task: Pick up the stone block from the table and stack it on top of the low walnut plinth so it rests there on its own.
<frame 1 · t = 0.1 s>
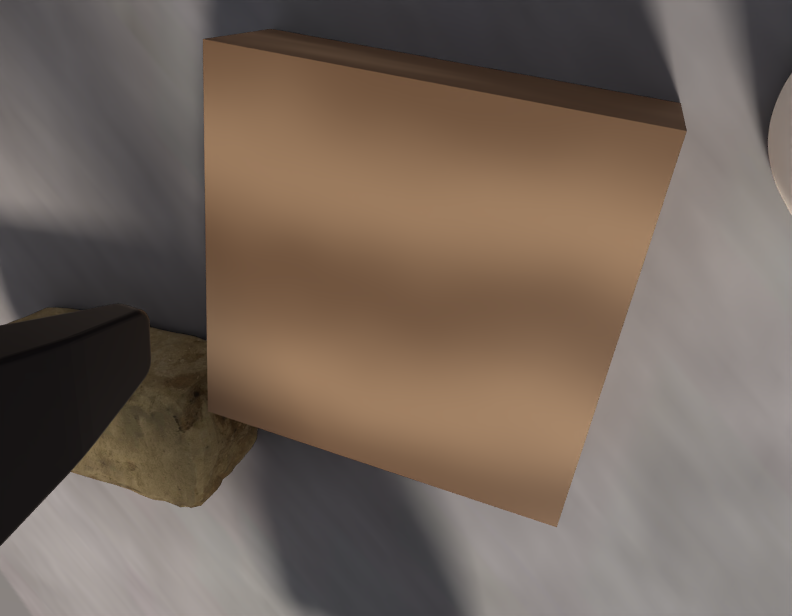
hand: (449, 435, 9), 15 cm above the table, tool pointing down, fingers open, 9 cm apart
stone block: (157, 368, 31), on the table
plinth: (430, 255, 24), on the table
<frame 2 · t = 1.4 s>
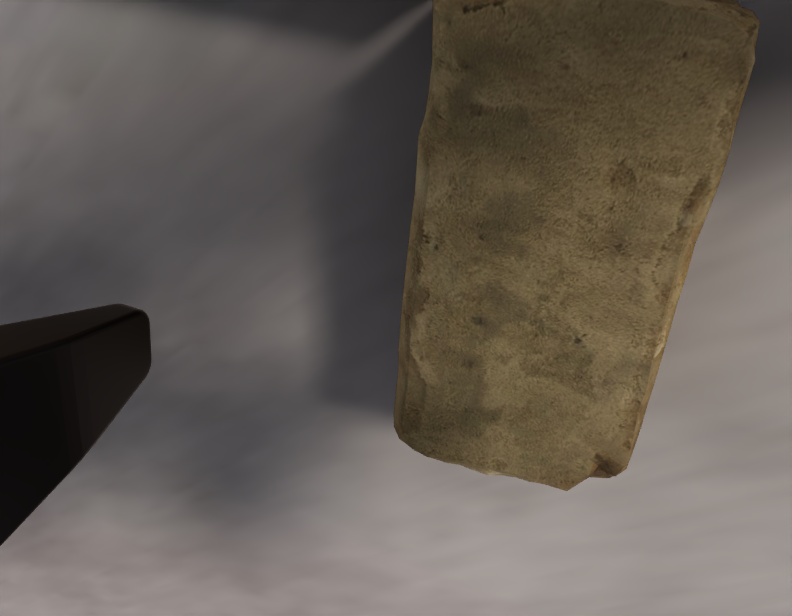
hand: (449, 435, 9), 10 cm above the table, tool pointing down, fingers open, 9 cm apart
stone block: (563, 201, 18), on the table
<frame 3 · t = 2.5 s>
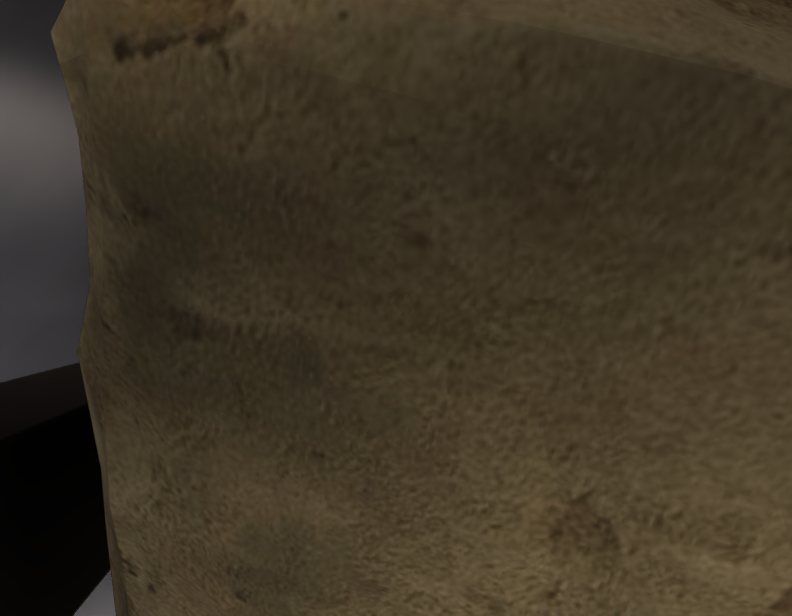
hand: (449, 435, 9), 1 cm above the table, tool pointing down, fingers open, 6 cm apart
stone block: (492, 375, 10), on the table, touching gripper
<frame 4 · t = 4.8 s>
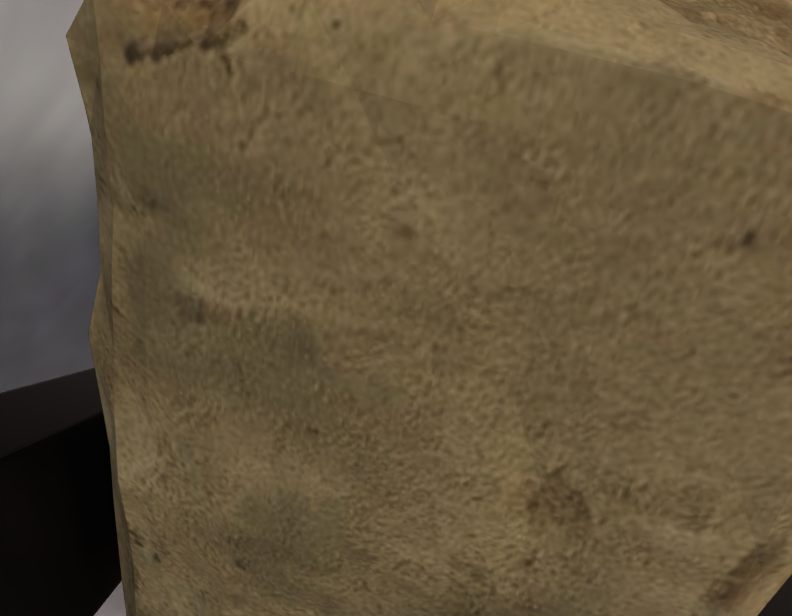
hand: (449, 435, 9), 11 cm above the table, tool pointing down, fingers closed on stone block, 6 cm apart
stone block: (484, 362, 10), point 9 cm above the table, touching gripper
when the fingers open (6 cm above the table, at t = 6.2 s): stone block stays where it is, resting on plinth.
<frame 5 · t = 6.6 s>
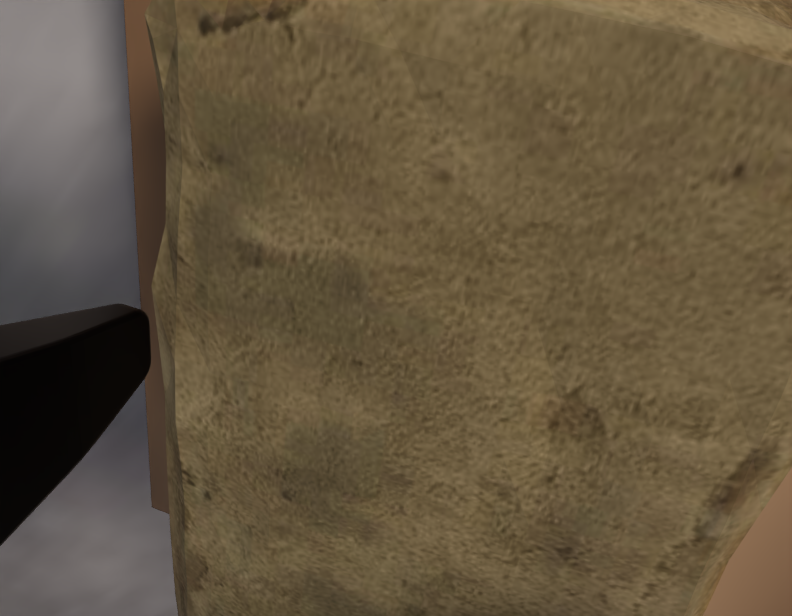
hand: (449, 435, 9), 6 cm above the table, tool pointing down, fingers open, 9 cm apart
stone block: (497, 335, 11), point 4 cm above the table, touching plinth
plinth: (526, 254, 14), on the table
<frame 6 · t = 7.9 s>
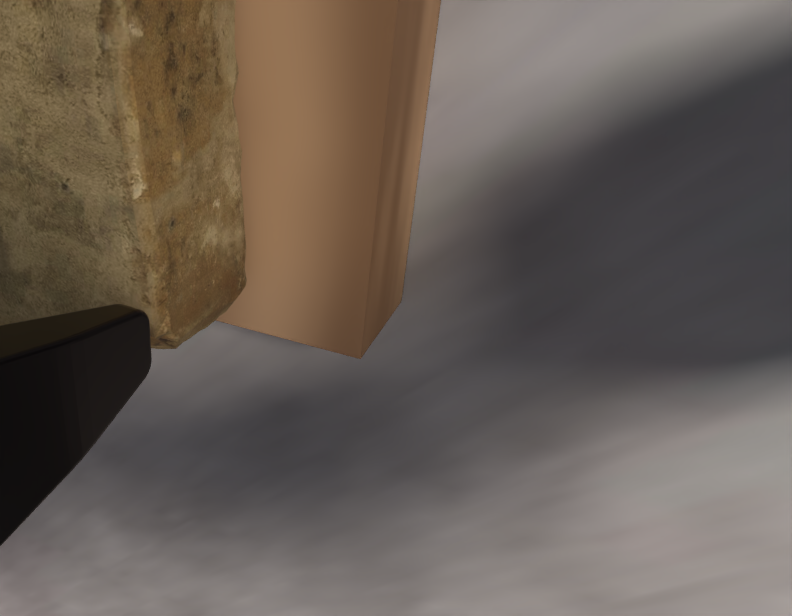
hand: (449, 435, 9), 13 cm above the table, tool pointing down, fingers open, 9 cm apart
stone block: (158, 82, 18), point 4 cm above the table, touching plinth
plinth: (226, 67, 21), on the table
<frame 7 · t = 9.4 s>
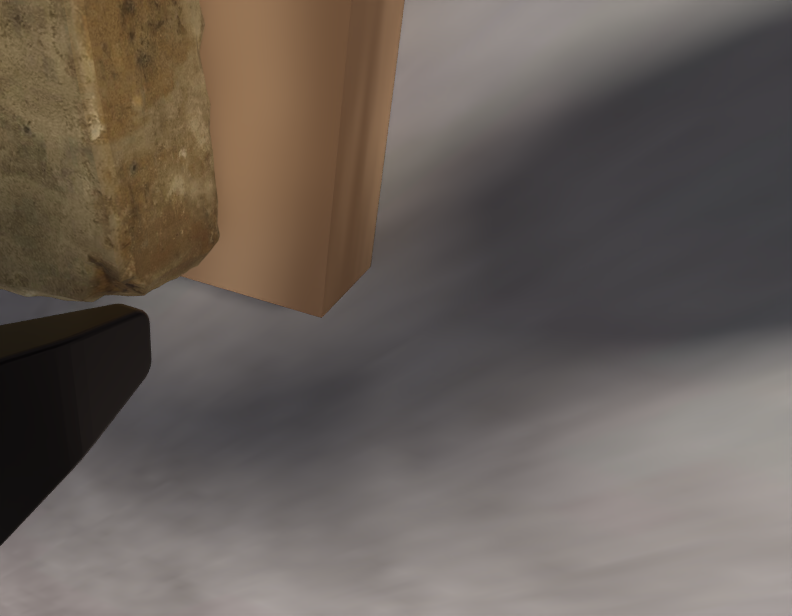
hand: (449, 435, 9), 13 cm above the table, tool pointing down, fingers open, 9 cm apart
stone block: (129, 38, 18), point 4 cm above the table, touching plinth
plinth: (202, 29, 21), on the table
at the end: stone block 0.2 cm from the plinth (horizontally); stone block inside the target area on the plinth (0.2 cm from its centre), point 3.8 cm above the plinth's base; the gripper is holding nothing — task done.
